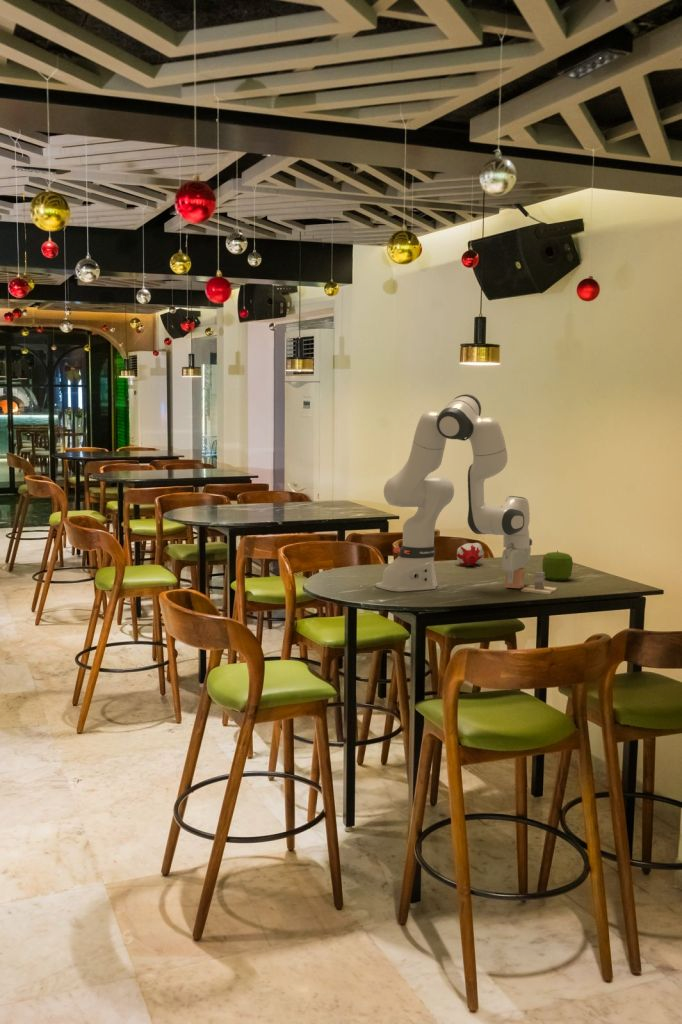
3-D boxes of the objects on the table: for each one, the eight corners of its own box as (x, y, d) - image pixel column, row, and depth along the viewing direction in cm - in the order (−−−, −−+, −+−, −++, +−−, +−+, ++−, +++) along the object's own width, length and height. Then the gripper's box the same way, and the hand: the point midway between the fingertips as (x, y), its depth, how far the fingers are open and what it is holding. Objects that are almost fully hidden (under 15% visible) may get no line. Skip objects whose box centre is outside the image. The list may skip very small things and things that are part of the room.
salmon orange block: (519, 588, 319) (520, 569, 319) (505, 587, 322) (505, 568, 321) (523, 587, 324) (524, 568, 324) (509, 586, 326) (510, 567, 326)
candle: (481, 561, 379) (486, 571, 364) (453, 560, 379) (457, 571, 364) (482, 540, 377) (487, 549, 362) (454, 539, 377) (458, 549, 362)
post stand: (549, 594, 312) (550, 575, 311) (520, 591, 316) (521, 573, 316) (557, 589, 320) (558, 571, 320) (529, 586, 325) (530, 569, 325)
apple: (576, 581, 336) (578, 552, 335) (549, 582, 334) (549, 552, 333) (564, 576, 347) (565, 548, 346) (537, 577, 345) (538, 548, 344)
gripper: (515, 546, 310) (514, 586, 311) (533, 539, 328) (533, 578, 329) (497, 545, 313) (496, 585, 314) (516, 538, 331) (516, 576, 332)
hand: (515, 581), depth 322 cm, fingers open, 8 cm apart
